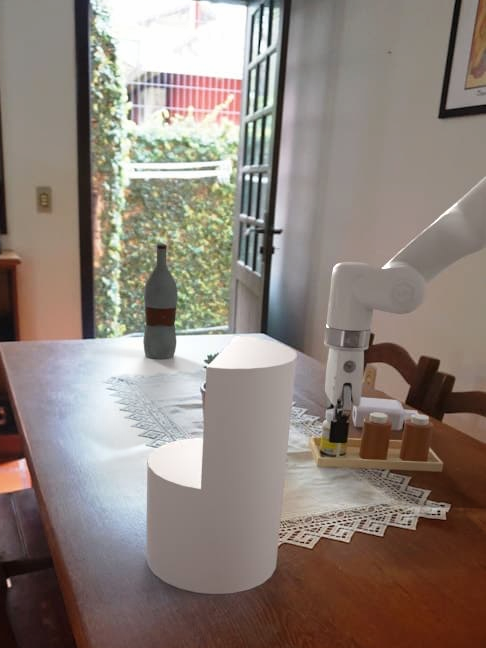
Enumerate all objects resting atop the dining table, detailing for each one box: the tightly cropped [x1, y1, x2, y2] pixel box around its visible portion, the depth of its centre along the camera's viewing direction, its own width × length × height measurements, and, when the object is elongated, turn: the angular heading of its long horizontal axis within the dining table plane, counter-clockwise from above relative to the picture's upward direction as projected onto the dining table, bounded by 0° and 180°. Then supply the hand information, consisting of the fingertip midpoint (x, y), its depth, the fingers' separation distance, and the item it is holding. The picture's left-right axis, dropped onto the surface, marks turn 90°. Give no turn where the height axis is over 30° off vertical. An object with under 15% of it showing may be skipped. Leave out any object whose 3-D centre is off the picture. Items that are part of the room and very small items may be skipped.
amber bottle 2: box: [399, 413, 435, 462], centre depth 124 cm, size 5×5×8 cm
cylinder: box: [145, 334, 298, 595], centre depth 85 cm, size 17×17×28 cm
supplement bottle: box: [320, 409, 350, 458], centre depth 124 cm, size 5×5×8 cm
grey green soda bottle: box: [143, 243, 179, 360], centre depth 187 cm, size 9×9×30 cm
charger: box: [351, 396, 428, 432], centre depth 144 cm, size 5×9×15 cm
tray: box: [308, 436, 444, 472], centre depth 126 cm, size 22×11×2 cm, turn 90°
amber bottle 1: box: [359, 412, 392, 460], centre depth 124 cm, size 5×5×8 cm
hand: (335, 436), depth 124 cm, fingers closed on supplement bottle, 4 cm apart
